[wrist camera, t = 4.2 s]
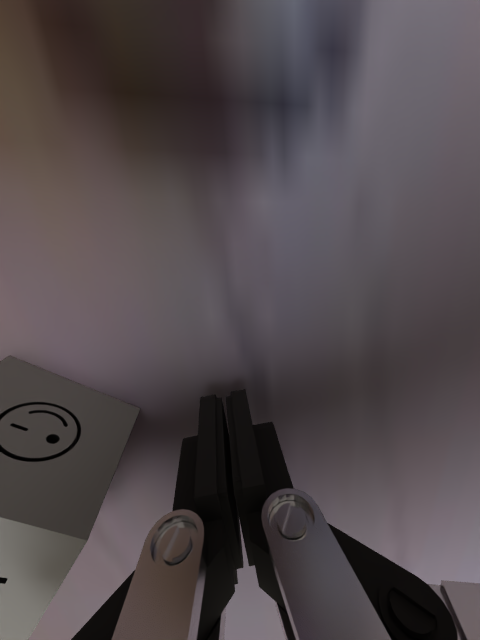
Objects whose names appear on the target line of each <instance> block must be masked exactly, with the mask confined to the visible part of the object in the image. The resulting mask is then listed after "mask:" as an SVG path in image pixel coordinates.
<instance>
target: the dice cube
mask: <svg viewBox="0 0 480 640" xmlns="http://www.w3.org/2000/svg"><path fill="white" fill-rule="evenodd" d="M139 411H140V408H138V407H135V406H133V405H130V404H128V403H125V402H123V401H120V400H118V399H116V398H113V397H111V396H108V395H106V394H103V393H101V392H98V391H96V390H93V389H91V388H88V387H86V386H84V385H81V384H79V383H76V382H74V381H71V380H69V379H66V378H64V377H61V376H59V375H57V374H54V373H52V372H49V371H47V370H44V369H42V368H39V367H37V366H34V365H32V364H29V363H27V362H25V361H22V360H20V359H17V358H15V357H12V356H8V357H6V358H5V359H3V360H2V361H0V640H28V639H29V637H30V636H31V634H32V632H33V631H34V629H35V627H36V626H37V624H38V622H39V621H40V619H41V617H42V616H43V614H44V612H45V611H46V609H47V607H48V606H49V604H50V602H51V601H52V599H53V597H54V595H55V594H56V592H57V590H58V589H59V587H60V585H61V584H62V582H63V580H64V579H65V577H66V575H67V574H68V572H69V570H70V569H71V567H72V565H73V564H74V562H75V560H76V559H77V557H78V555H79V554H80V552H81V550H82V549H83V547H84V545H85V544H86V542H87V540H88V538H89V535H90V533H91V530H92V528H93V525H94V523H95V520H96V518H97V515H98V513H99V510H100V508H101V505H102V503H103V500H104V498H105V495H106V493H107V490H108V488H109V485H110V483H111V480H112V478H113V475H114V473H115V470H116V468H117V465H118V463H119V460H120V458H121V455H122V453H123V450H124V448H125V446H126V443H127V441H128V438H129V436H130V433H131V431H132V428H133V426H134V423H135V421H136V418H137V416H138V413H139Z"/></svg>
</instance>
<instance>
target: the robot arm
mask: <svg viewBox="0 0 480 640" xmlns="http://www.w3.org/2000/svg"><path fill="white" fill-rule="evenodd" d="M226 405H227V417H228V428H227V423H226V417H225V412H224V407H223V402H222V398H217V399H216V395H211V396H205V397H201V399H200V413H199V428H198V436H193V437H187V438H184V439H183V441H182V446H181V454H180V461H179V468H178V475H177V482H176V490H175V497H174V504H173V511H172V512H170V513H168V514H166V515H165V516H163V517H162V518H161V519H160V520H159V521H157V522H156V524H155V525H154V526H153V528H152V529H151V530H150V532H149V534H148V536H147V538H146V540H145V543H144V546H143V549H142V552H141V555H140V558H139V561H138V564H137V567H136V569H135V570H134V571H133V573H132V574H131V575H130V576H129V577H128V578H127V579H126V580H125V581H124V582H123V584H122V585H121V586H120V587H119V588H118V589H117V590H116V591H115V592H114V593H113V594H112V596H111V597H110V598H109V599H108V600H107V601H106V602H105V603H104V604H103V605H102V607H101V608H100V609H99V610H98V611H97V612H96V613H95V614H94V615H93V616H92V617H91V619H90V620H89V621H88V622H87V623H86V624H85V625H84V626H83V627H82V628H81V630H80V631H79V632H78V633H77V634H76V635H75V636H74V637H73V638H72V639H71V640H224V633H225V619H226V613H225V607H226V605H227V604H228V602H229V600H230V599H231V597H232V596H233V594H234V592H235V586H234V584H238V580H237V569H239V568H243V555H242V544H241V534H240V523H241V528H242V533H243V538H244V543H245V548H246V553H247V558H248V563H249V566H253V565H255V568H256V573H257V578H258V583H259V587H260V588H261V589H262V590H264V591H265V592H266V593H267V594H268V595H269V596H270V597H271V598H272V599H274V600H275V603H276V608H277V611H278V615H279V618H280V621H281V625H282V628H283V632H284V635H285V639H286V640H480V584H479V583H467V582H455V581H442V580H441V585H432V584H426V583H425V582H424V581H422V580H421V579H420V578H418V577H417V576H415V575H413V574H412V573H410V572H408V571H407V570H405V569H403V568H402V567H400V566H398V565H397V564H395V563H393V562H392V561H390V560H388V559H387V558H385V557H383V556H382V555H380V554H378V553H377V552H375V551H373V550H372V549H370V548H368V547H367V546H365V545H363V544H362V543H360V542H358V541H357V540H355V539H353V538H352V537H350V536H348V535H347V534H345V533H343V532H342V531H340V530H338V529H337V528H335V527H333V526H332V525H330V524H328V523H327V522H326V520H325V518H324V516H323V514H322V513H321V511H320V509H319V507H318V505H317V504H316V503H315V501H314V500H313V499H312V498H311V497H310V496H309V495H307V494H306V493H305V492H302V491H300V490H297V489H293V485H292V482H291V479H290V476H289V473H288V470H287V466H286V463H285V460H284V457H283V454H282V450H281V447H280V444H279V441H278V438H277V434H276V431H275V428H274V425H273V423H272V422H268V423H263V424H257V425H252V421H251V416H250V411H249V406H248V401H247V396H246V392H245V389H244V390H239V391H233V392H231V396H228V397H226ZM228 429H229V433H228ZM239 518H240V523H239Z"/></svg>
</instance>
